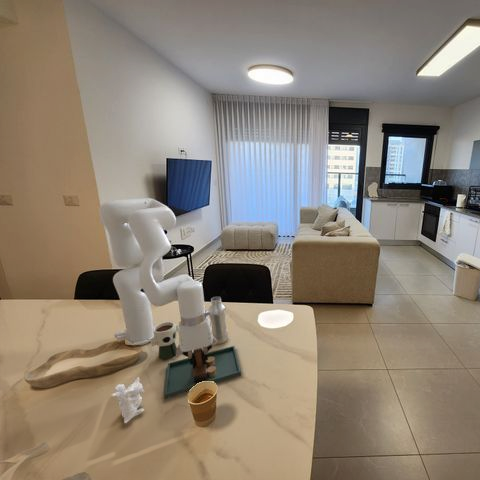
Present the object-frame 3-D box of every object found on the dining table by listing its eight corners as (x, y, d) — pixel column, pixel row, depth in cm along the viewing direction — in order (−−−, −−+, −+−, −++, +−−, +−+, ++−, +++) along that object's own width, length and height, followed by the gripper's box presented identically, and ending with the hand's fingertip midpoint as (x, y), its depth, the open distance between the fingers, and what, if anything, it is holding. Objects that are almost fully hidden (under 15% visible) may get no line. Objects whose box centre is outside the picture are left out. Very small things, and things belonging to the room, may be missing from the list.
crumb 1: (206, 367, 94) (205, 363, 94) (205, 362, 97) (205, 357, 96) (215, 365, 96) (214, 360, 95) (214, 360, 98) (214, 355, 98)
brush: (194, 383, 87) (191, 361, 85) (194, 364, 96) (191, 343, 94) (207, 379, 89) (204, 357, 87) (205, 360, 98) (203, 340, 95)
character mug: (161, 368, 95) (156, 337, 91) (148, 362, 98) (143, 332, 94) (187, 350, 104) (183, 321, 101) (175, 345, 107) (171, 317, 104)
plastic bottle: (223, 347, 106) (219, 303, 101) (208, 345, 108) (203, 301, 102) (231, 337, 112) (228, 295, 107) (217, 335, 114) (213, 294, 108)
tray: (165, 400, 82) (164, 395, 81) (168, 368, 95) (167, 363, 94) (241, 376, 92) (240, 371, 91) (234, 350, 105) (234, 345, 104)
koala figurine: (127, 431, 72) (119, 396, 69) (109, 424, 74) (100, 390, 71) (153, 405, 80) (147, 373, 77) (136, 400, 82) (130, 368, 79)
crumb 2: (207, 378, 90) (207, 373, 89) (207, 372, 92) (206, 367, 92) (216, 375, 91) (216, 370, 90) (216, 369, 94) (215, 364, 93)
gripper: (218, 307, 93) (222, 350, 98) (166, 317, 87) (173, 363, 91) (220, 317, 87) (225, 363, 92) (164, 329, 80) (172, 378, 85)
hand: (199, 363), depth 92 cm, fingers closed on brush, 2 cm apart
